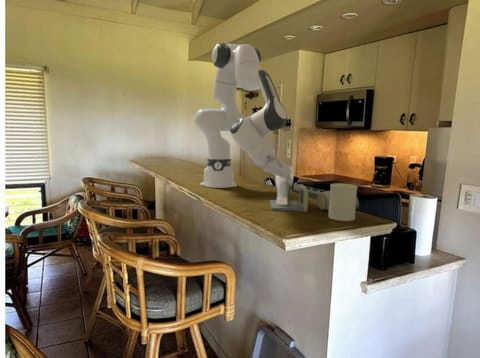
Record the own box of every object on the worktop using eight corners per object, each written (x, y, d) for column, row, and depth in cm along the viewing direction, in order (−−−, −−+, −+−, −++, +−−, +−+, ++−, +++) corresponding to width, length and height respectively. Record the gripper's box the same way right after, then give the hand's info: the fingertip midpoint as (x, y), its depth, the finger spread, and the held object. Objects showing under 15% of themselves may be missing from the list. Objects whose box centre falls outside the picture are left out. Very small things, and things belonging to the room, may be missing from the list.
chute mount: (269, 202, 144) (270, 183, 143) (301, 203, 144) (302, 184, 143) (272, 210, 131) (272, 189, 129) (307, 211, 130) (308, 190, 129)
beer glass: (276, 201, 142) (277, 164, 140) (293, 202, 140) (294, 165, 138) (272, 205, 135) (273, 166, 133) (290, 206, 133) (292, 167, 131)
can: (332, 221, 118) (335, 186, 117) (324, 214, 127) (326, 181, 126) (359, 221, 119) (362, 186, 117) (349, 214, 128) (351, 182, 126)
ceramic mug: (314, 208, 136) (315, 188, 135) (332, 207, 139) (333, 188, 138) (330, 215, 127) (331, 194, 125) (348, 214, 129) (350, 193, 128)
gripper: (280, 151, 122) (303, 178, 127) (258, 147, 141) (279, 170, 146) (268, 164, 121) (292, 190, 126) (248, 158, 140) (269, 181, 145)
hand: (285, 180), depth 136 cm, fingers open, 8 cm apart
